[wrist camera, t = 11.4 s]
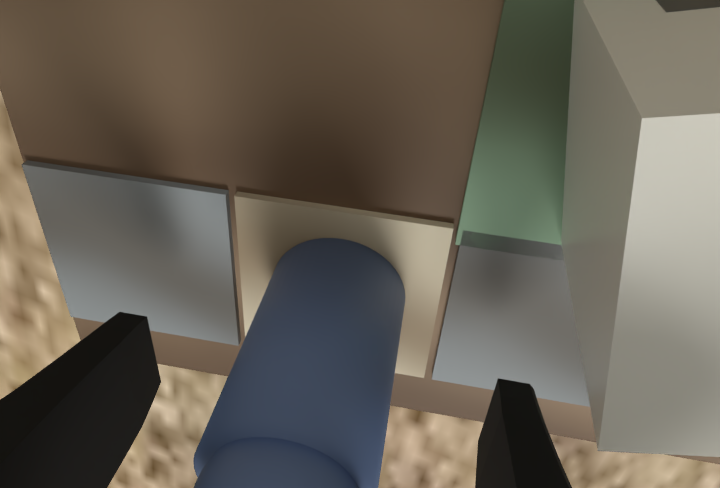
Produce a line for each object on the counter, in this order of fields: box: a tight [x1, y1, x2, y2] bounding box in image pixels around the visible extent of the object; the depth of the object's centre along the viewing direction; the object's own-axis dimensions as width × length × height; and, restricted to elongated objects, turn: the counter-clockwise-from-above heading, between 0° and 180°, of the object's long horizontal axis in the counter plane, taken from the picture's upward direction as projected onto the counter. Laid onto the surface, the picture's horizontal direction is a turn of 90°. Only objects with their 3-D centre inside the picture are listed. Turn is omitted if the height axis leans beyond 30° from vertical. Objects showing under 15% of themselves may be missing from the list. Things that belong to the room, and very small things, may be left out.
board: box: [0, 0, 720, 464], centre depth 13 cm, size 12×20×1 cm, turn 86°
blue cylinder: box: [194, 238, 405, 488], centre depth 11 cm, size 3×3×7 cm
